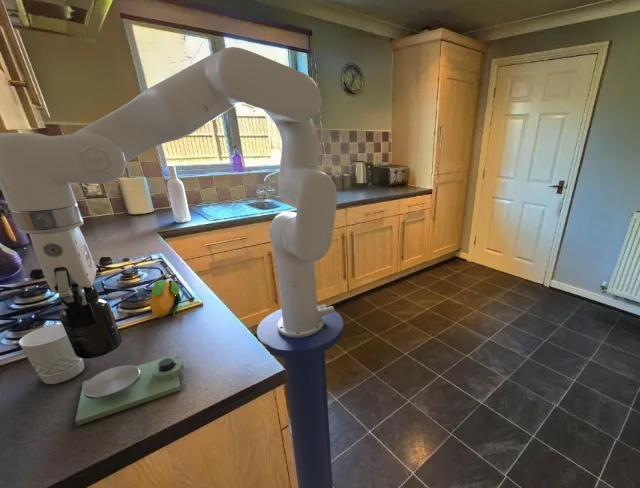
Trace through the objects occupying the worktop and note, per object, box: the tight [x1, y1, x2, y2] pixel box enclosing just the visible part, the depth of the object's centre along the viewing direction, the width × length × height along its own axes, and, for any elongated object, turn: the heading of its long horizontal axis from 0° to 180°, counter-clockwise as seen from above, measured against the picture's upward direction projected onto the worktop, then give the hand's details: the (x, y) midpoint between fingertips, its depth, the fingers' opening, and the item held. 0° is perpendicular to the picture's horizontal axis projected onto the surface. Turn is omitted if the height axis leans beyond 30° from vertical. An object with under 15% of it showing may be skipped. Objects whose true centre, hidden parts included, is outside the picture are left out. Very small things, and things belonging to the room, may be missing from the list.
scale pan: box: [83, 364, 141, 400], centre depth 64 cm, size 9×9×1 cm
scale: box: [74, 354, 184, 426], centre depth 67 cm, size 17×12×2 cm
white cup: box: [18, 323, 85, 385], centre depth 68 cm, size 8×8×10 cm
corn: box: [149, 279, 180, 319], centre depth 94 cm, size 7×8×20 cm
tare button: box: [159, 358, 175, 372], centre depth 69 cm, size 3×3×2 cm
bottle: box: [166, 164, 192, 224], centre depth 179 cm, size 8×8×30 cm
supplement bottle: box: [58, 285, 123, 360], centre depth 59 cm, size 7×7×12 cm
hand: (87, 315), depth 58 cm, fingers closed on supplement bottle, 6 cm apart
